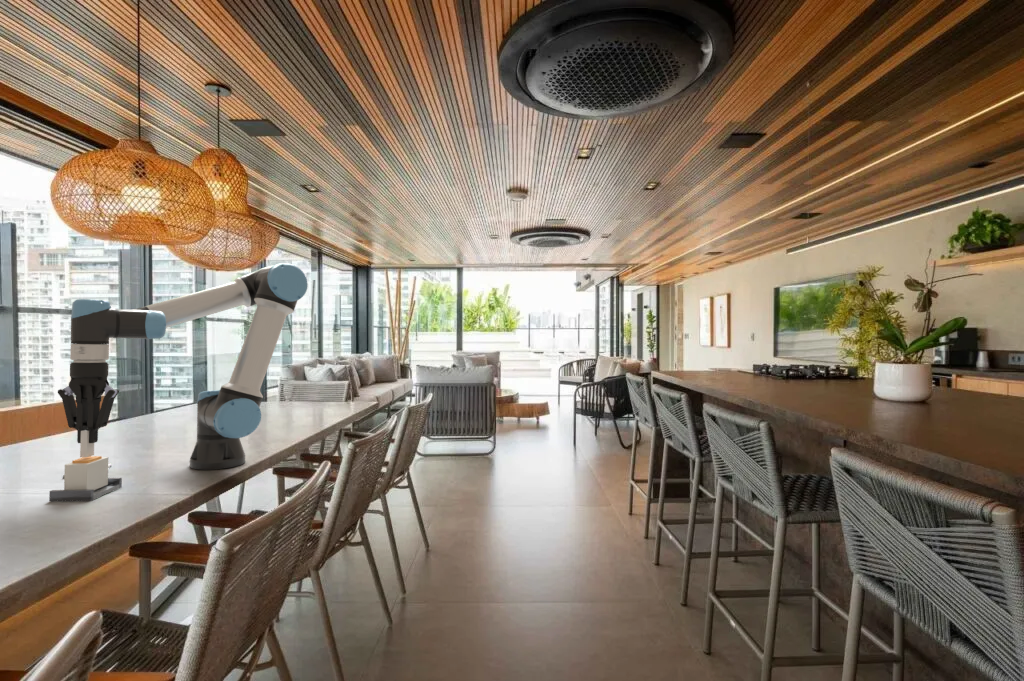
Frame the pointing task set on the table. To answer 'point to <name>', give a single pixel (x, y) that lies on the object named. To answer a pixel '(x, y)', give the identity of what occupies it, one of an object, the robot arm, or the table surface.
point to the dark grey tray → (85, 492)
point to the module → (86, 473)
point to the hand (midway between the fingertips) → (87, 456)
